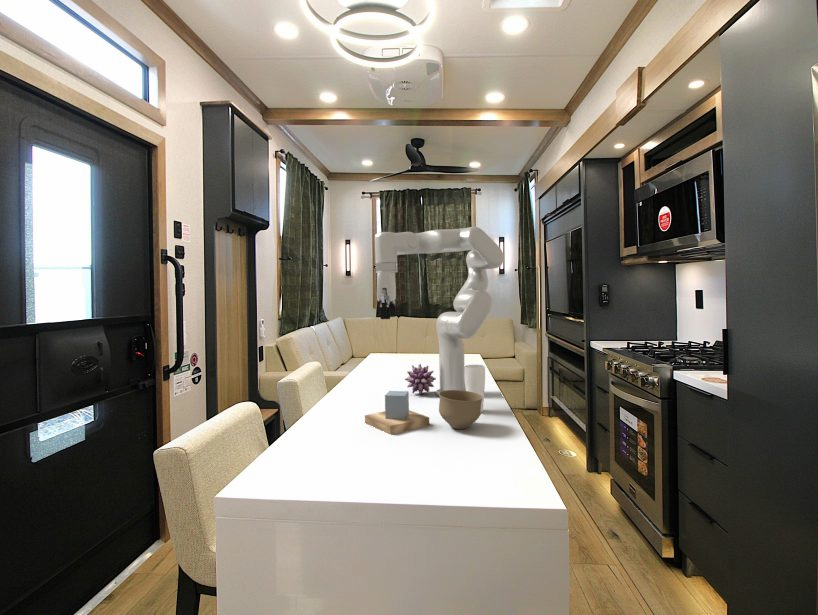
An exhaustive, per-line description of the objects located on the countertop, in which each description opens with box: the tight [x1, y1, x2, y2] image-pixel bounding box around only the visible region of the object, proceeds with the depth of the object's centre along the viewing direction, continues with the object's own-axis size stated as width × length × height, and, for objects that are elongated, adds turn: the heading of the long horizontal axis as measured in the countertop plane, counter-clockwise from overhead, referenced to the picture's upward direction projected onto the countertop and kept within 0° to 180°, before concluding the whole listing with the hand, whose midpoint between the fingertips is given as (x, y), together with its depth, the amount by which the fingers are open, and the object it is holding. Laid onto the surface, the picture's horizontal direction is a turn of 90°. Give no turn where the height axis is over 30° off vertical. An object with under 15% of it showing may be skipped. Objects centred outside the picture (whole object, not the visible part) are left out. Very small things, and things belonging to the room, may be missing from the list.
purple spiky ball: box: [404, 363, 437, 395], centre depth 177 cm, size 12×12×12 cm
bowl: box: [438, 390, 482, 430], centre depth 134 cm, size 13×13×10 cm
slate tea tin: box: [384, 390, 410, 419], centre depth 139 cm, size 6×6×7 cm
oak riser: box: [364, 409, 430, 435], centre depth 139 cm, size 14×14×3 cm
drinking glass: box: [464, 364, 486, 413], centre depth 151 cm, size 7×7×15 cm
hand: (388, 317), depth 160 cm, fingers open, 9 cm apart
